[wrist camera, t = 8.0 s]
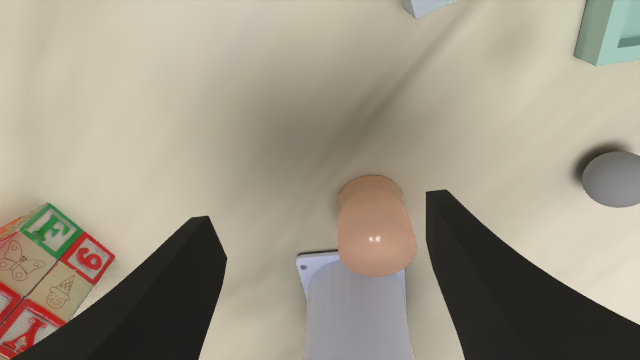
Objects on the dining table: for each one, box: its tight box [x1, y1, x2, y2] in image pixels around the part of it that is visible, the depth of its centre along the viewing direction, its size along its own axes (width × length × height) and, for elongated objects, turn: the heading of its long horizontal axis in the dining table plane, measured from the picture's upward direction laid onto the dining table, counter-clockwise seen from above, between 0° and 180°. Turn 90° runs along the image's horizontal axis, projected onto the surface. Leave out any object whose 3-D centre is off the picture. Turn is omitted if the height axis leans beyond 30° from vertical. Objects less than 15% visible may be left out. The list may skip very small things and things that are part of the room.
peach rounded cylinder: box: [338, 175, 417, 277], centre depth 22 cm, size 4×4×4 cm
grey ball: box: [582, 151, 640, 208], centre depth 20 cm, size 3×3×3 cm
